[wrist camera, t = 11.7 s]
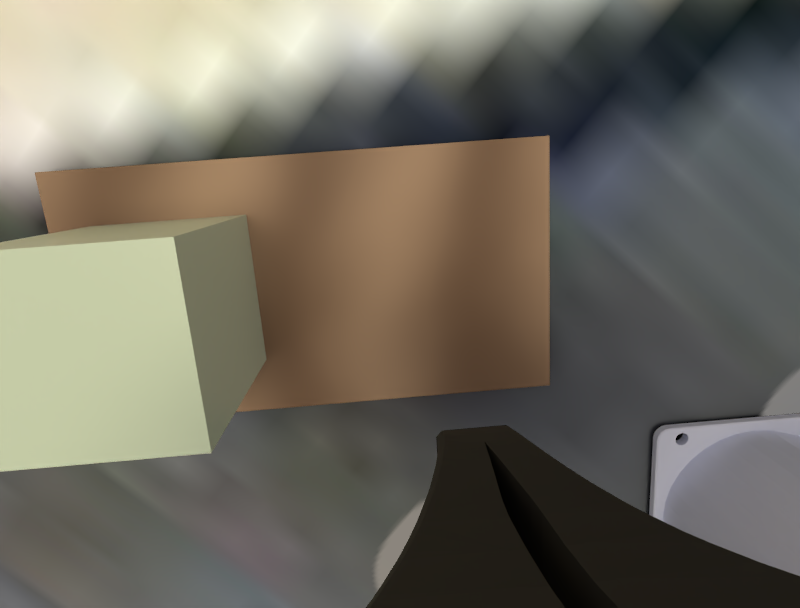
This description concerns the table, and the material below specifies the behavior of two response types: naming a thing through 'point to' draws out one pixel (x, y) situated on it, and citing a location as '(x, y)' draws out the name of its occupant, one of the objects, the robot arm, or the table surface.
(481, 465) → the robot arm
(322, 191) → the board
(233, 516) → the table surface
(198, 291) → the pale green block
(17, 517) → the table surface
